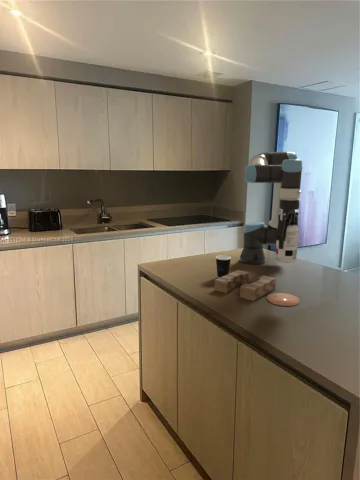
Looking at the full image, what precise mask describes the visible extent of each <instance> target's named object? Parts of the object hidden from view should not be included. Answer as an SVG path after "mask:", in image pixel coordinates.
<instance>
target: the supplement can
mask: <svg viewBox="0 0 360 480" xmlns="http://www.w3.org/2000/svg"><path fill="white" fill-rule="evenodd" d="M298 239H299V226H298V227H297V225H289V226H288V227H287V231H286V238H285V241H286V248H285V257H279V256H278V245H279V241H278V240H276V245H275V260H276V261H277V262H278V263H282V264H293V263H295V262H296V261H297V255H298V243H299V242H298V241H299V240H298Z"/></svg>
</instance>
